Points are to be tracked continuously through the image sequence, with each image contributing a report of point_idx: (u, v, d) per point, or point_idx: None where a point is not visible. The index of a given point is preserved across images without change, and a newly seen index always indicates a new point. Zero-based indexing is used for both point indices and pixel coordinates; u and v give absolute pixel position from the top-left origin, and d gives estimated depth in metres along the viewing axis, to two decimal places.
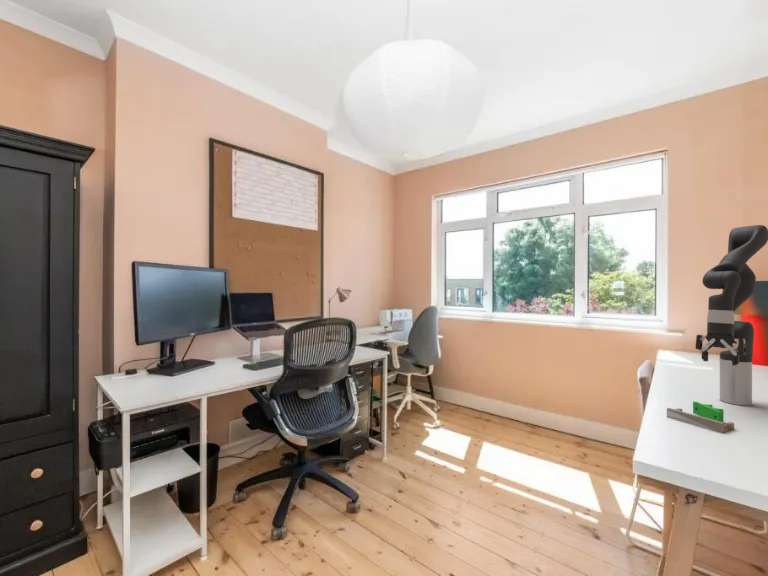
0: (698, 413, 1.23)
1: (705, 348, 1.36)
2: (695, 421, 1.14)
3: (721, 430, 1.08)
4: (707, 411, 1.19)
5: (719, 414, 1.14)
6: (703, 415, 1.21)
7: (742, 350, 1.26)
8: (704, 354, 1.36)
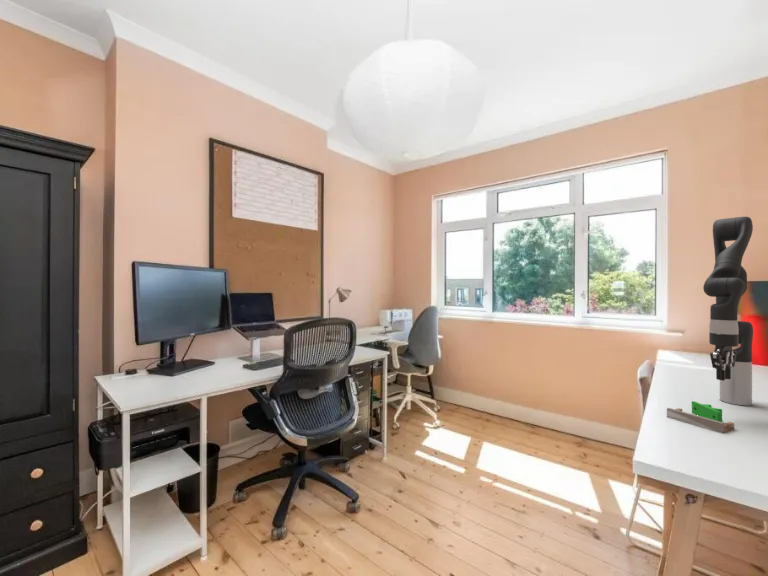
0: (697, 413, 1.23)
1: (725, 365, 1.21)
2: (695, 421, 1.14)
3: (721, 430, 1.08)
4: (706, 410, 1.19)
5: (718, 414, 1.14)
6: (702, 415, 1.21)
7: (734, 362, 1.24)
8: (724, 373, 1.21)
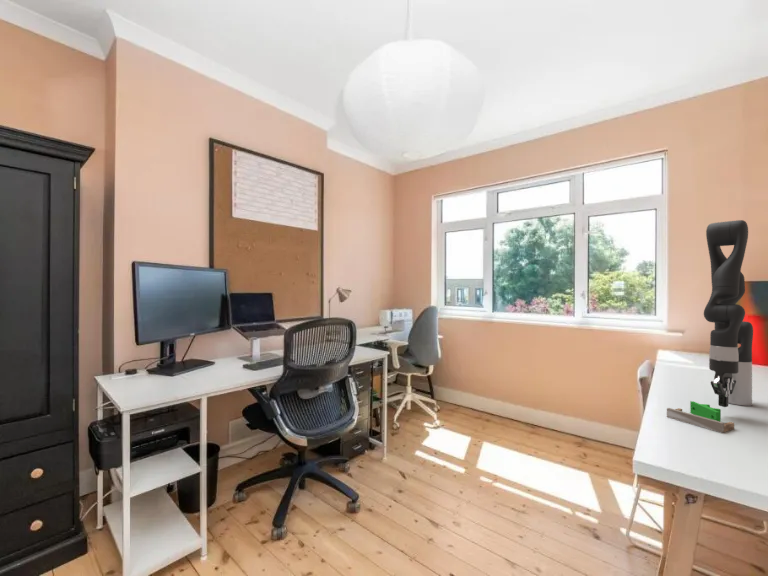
0: (695, 413, 1.23)
1: (726, 392, 1.21)
2: (695, 421, 1.14)
3: (721, 430, 1.08)
4: (705, 410, 1.19)
5: (716, 414, 1.15)
6: (700, 415, 1.21)
7: (732, 390, 1.23)
8: (726, 399, 1.22)
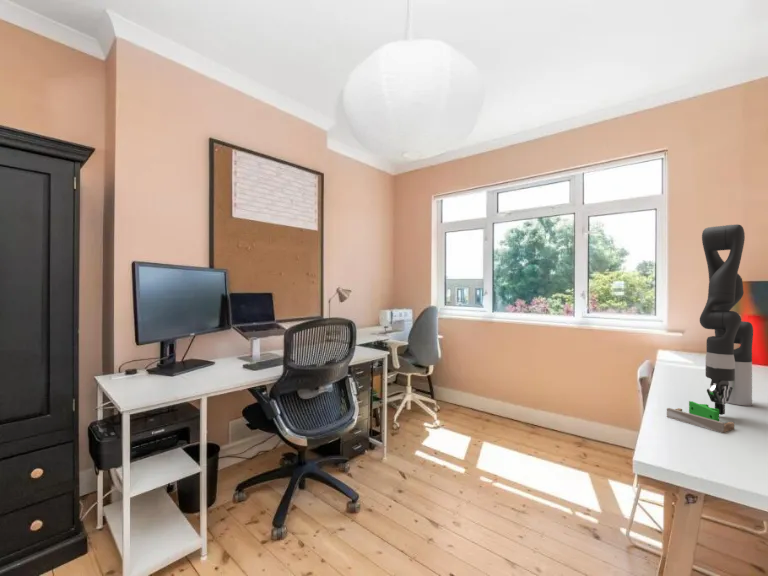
0: (694, 413, 1.23)
1: (723, 399, 1.20)
2: (695, 421, 1.14)
3: (721, 430, 1.08)
4: (703, 410, 1.19)
5: (715, 414, 1.15)
6: (699, 415, 1.21)
7: (728, 397, 1.22)
8: (723, 407, 1.21)
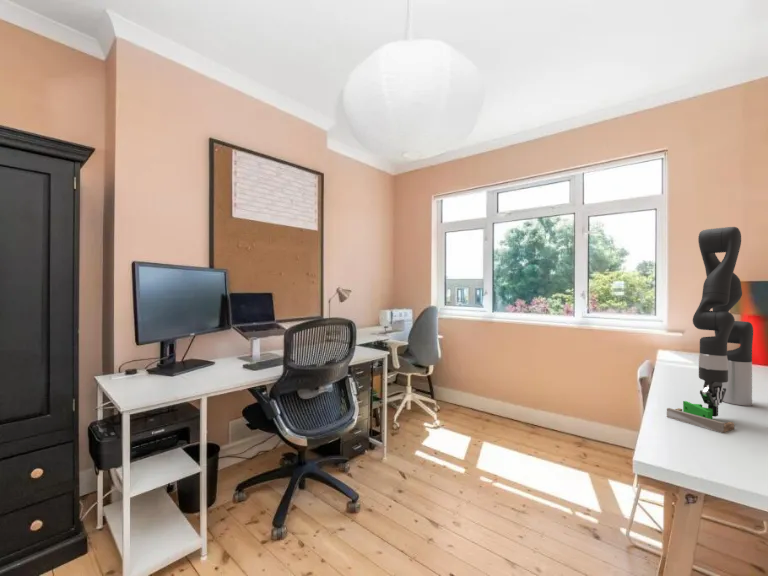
0: None
1: (716, 401, 1.18)
2: (695, 421, 1.14)
3: (721, 430, 1.08)
4: (697, 410, 1.19)
5: (708, 414, 1.15)
6: None
7: (722, 399, 1.20)
8: (716, 409, 1.19)
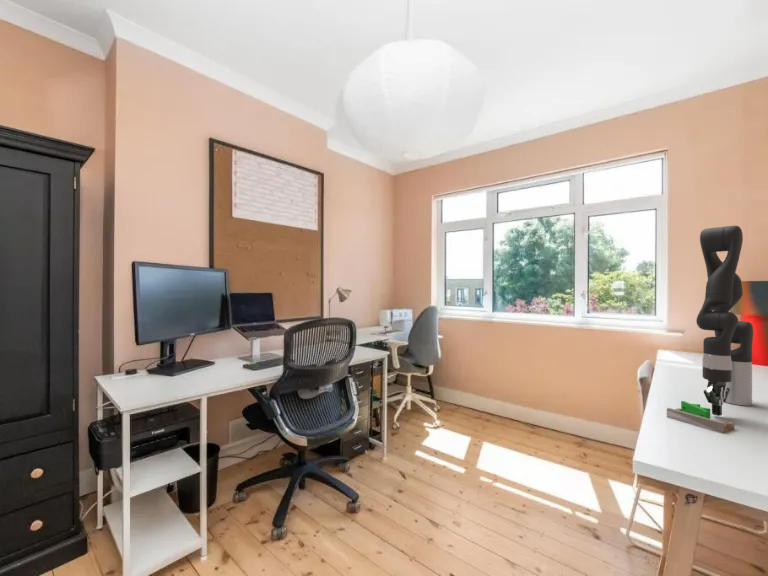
0: (686, 412, 1.23)
1: (720, 400, 1.20)
2: (695, 421, 1.14)
3: (721, 430, 1.08)
4: (694, 410, 1.19)
5: (705, 413, 1.15)
6: None
7: (726, 398, 1.22)
8: (720, 408, 1.20)
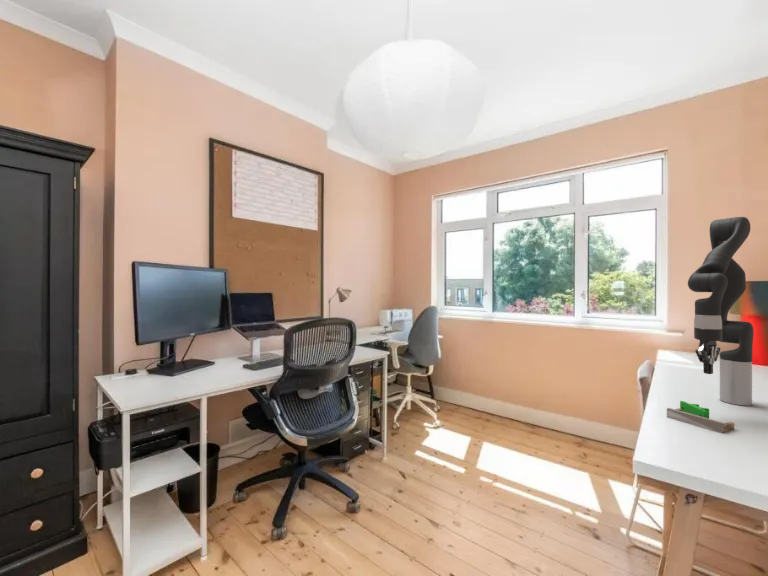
0: None
1: (711, 359, 1.24)
2: (695, 421, 1.14)
3: (721, 430, 1.08)
4: (693, 410, 1.19)
5: (704, 413, 1.15)
6: None
7: (716, 357, 1.26)
8: (711, 367, 1.24)
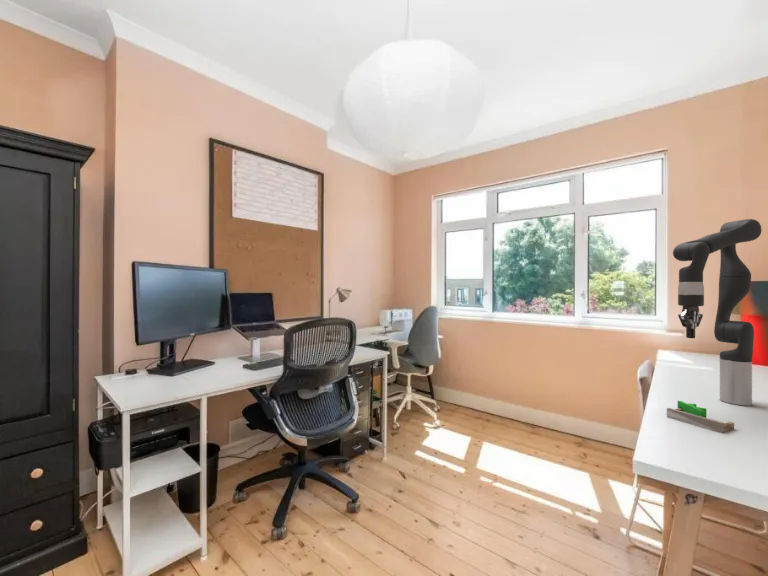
0: None
1: (693, 324, 1.30)
2: (695, 421, 1.14)
3: (721, 430, 1.08)
4: (691, 410, 1.20)
5: (701, 413, 1.15)
6: None
7: (699, 323, 1.32)
8: (693, 331, 1.31)
